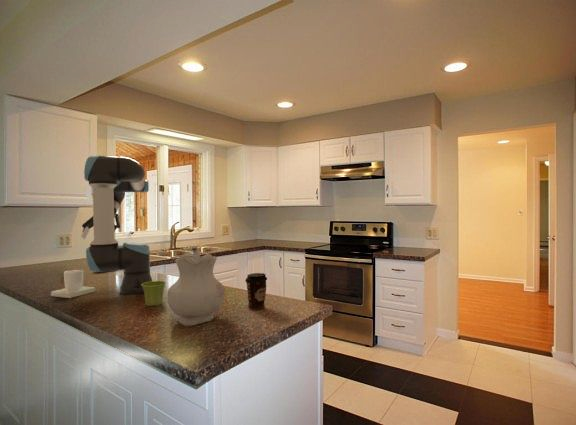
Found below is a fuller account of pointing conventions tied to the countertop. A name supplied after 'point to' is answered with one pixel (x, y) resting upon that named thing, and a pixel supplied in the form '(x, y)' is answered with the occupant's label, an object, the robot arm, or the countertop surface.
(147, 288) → the plant pot
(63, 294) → the coaster tray
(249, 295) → the coffee cup
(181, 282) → the ceramic pitcher
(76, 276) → the white cup
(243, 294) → the countertop surface
